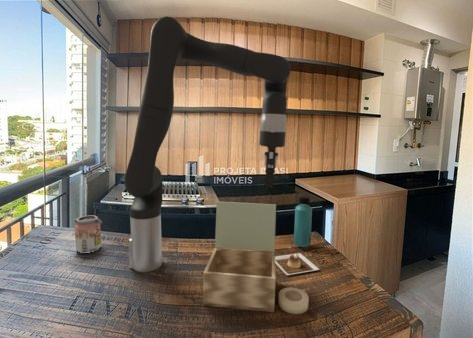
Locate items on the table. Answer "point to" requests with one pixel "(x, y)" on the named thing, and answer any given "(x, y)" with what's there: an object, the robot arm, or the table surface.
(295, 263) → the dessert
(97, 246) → the beverage can
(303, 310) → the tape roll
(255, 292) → the crate
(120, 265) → the table surface
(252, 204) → the lid
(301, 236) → the beverage bottle
